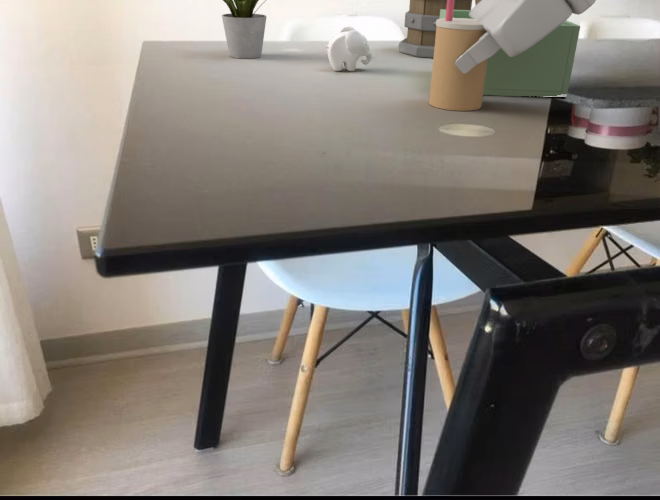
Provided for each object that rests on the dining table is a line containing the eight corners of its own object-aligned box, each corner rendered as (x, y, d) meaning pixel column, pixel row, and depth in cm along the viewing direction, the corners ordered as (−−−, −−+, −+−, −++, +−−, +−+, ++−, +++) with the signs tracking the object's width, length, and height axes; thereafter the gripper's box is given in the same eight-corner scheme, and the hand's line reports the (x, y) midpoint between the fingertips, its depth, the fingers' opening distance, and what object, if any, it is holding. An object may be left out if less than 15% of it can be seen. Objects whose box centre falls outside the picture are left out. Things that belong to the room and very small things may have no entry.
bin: (538, 75, 94) (549, 13, 91) (566, 98, 80) (580, 25, 77) (434, 71, 95) (440, 9, 91) (443, 93, 81) (451, 21, 77)
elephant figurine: (377, 74, 92) (379, 31, 89) (322, 74, 91) (323, 30, 88) (368, 66, 98) (371, 25, 95) (317, 65, 97) (318, 24, 94)
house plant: (304, 63, 98) (305, -53, 91) (215, 66, 94) (209, -56, 87) (280, 49, 110) (279, -55, 103) (200, 51, 106) (194, -57, 99)
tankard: (386, 49, 114) (392, -43, 107) (441, 45, 119) (450, -42, 113) (458, 68, 98) (470, -38, 91) (518, 63, 104) (533, -37, 97)
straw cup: (478, 99, 78) (494, -23, 72) (486, 112, 73) (504, -20, 66) (426, 97, 79) (438, -25, 73) (430, 109, 73) (443, -22, 67)
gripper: (518, -51, 77) (430, 30, 82) (562, -49, 59) (445, 55, 64) (549, -10, 79) (461, 67, 84) (600, 4, 61) (484, 102, 65)
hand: (454, 62), depth 73 cm, fingers closed on straw cup, 6 cm apart
